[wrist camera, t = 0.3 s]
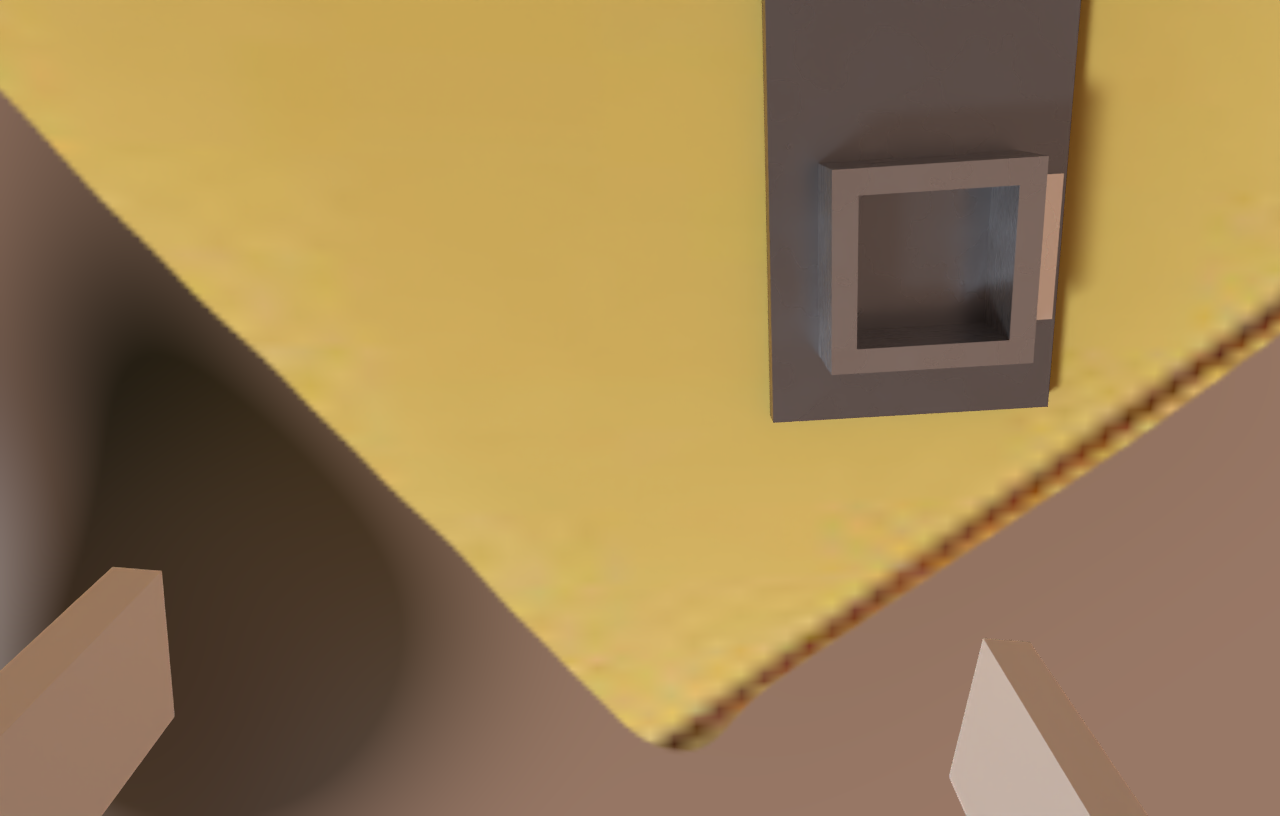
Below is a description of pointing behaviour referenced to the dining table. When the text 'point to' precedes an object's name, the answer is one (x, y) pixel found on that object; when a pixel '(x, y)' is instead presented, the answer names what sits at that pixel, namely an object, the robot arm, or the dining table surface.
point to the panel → (914, 202)
